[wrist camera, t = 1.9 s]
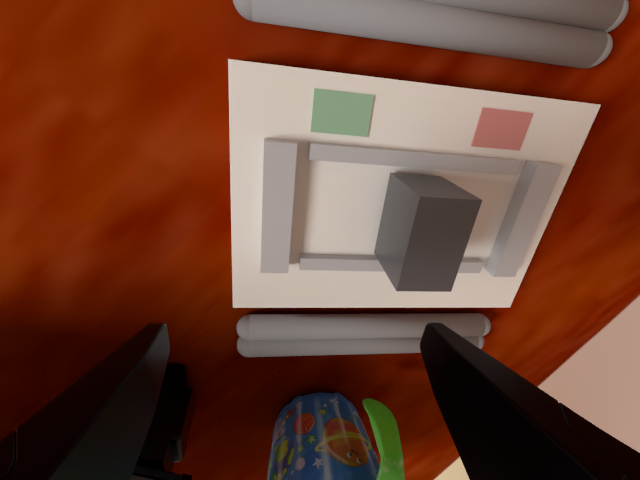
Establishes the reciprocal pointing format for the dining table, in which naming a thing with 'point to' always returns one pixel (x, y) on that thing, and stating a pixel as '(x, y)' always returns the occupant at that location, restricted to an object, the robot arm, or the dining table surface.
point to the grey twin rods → (440, 32)
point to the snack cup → (334, 441)
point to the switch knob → (424, 231)
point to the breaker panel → (384, 182)
